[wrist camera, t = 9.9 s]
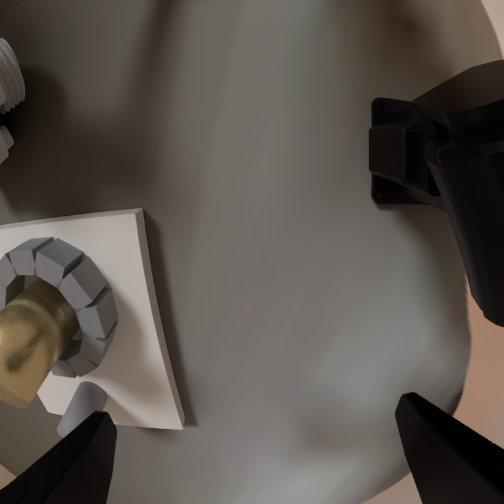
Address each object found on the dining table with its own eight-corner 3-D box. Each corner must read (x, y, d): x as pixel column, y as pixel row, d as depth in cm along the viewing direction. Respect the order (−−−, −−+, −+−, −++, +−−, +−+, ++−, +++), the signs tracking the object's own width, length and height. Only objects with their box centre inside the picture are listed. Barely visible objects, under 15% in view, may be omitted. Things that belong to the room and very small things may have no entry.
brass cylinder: (76, 271, 17) (6, 344, 10) (93, 332, 19) (44, 414, 11) (26, 273, 17) (-44, 334, 10) (44, 328, 19) (-10, 398, 11)
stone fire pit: (142, 207, 18) (98, 241, 12) (185, 416, 24) (176, 477, 18) (-13, 227, 17) (-68, 256, 11) (53, 402, 23) (29, 448, 17)
